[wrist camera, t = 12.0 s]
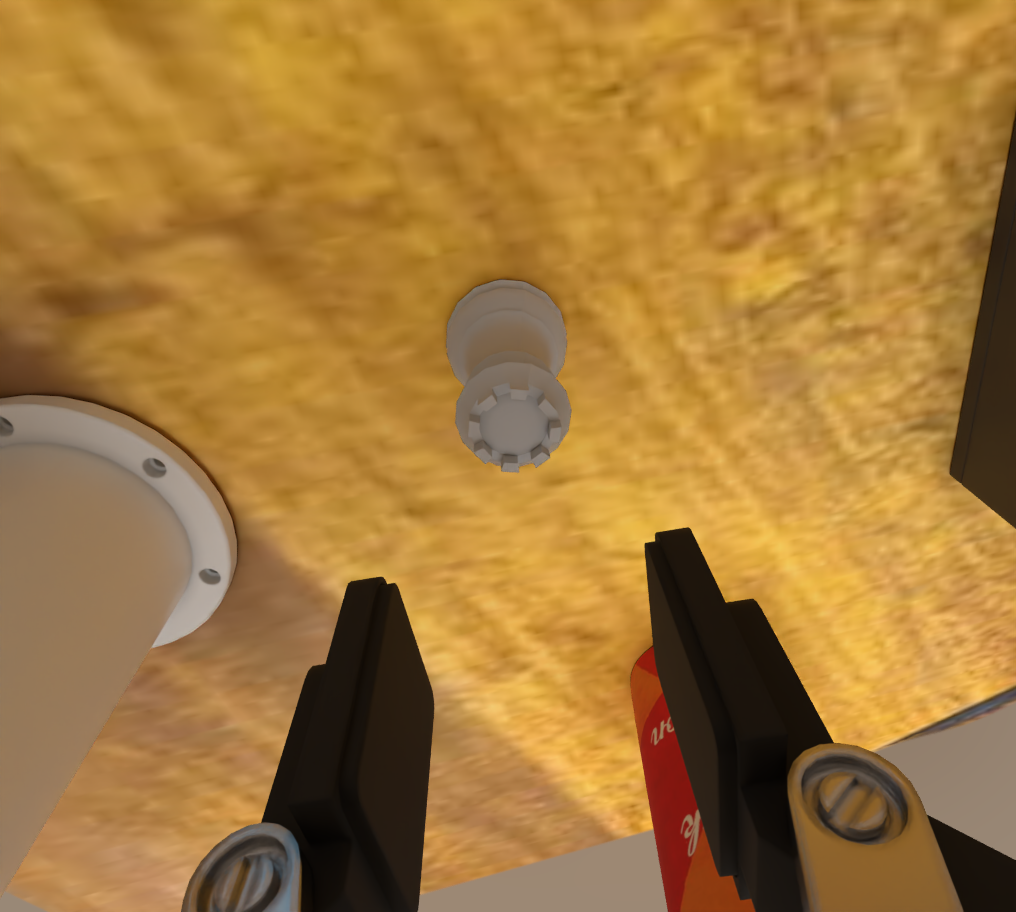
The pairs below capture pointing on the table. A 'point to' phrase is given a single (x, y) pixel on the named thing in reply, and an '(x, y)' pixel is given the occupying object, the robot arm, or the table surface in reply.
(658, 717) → the coffee cup
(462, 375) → the grey castle rook
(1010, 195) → the cabinet
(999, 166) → the table surface
